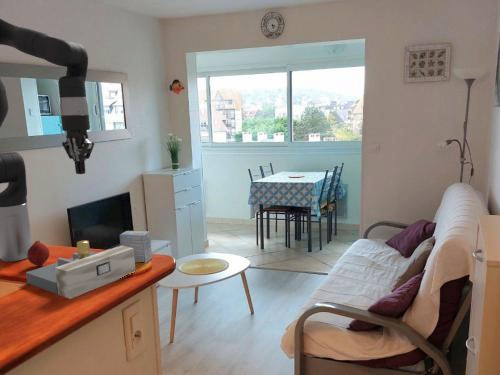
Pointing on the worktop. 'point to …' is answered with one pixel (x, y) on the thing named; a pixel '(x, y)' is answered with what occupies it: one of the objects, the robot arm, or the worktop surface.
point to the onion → (38, 253)
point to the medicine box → (138, 244)
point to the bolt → (85, 252)
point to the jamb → (94, 271)
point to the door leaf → (49, 274)
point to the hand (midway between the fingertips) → (80, 173)
